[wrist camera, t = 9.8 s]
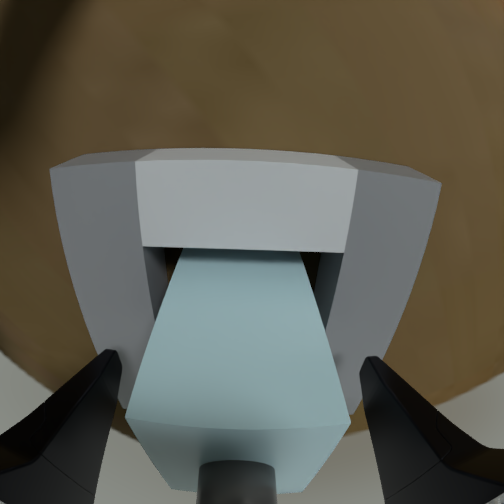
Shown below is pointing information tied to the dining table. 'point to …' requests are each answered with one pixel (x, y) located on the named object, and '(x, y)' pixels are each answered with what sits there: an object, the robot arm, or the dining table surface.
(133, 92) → the dining table surface
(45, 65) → the dining table surface
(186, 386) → the plug
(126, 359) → the socket block
